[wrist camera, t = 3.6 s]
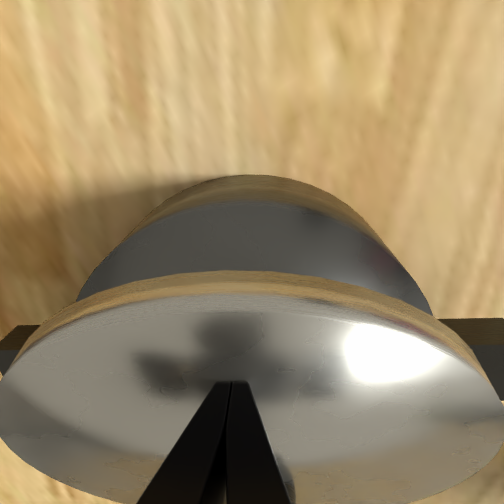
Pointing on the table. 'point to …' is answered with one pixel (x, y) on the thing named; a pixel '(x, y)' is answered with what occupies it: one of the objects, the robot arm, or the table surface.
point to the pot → (269, 251)
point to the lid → (253, 386)
